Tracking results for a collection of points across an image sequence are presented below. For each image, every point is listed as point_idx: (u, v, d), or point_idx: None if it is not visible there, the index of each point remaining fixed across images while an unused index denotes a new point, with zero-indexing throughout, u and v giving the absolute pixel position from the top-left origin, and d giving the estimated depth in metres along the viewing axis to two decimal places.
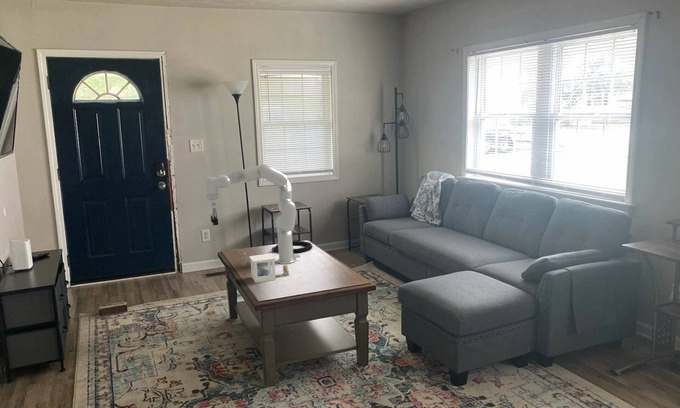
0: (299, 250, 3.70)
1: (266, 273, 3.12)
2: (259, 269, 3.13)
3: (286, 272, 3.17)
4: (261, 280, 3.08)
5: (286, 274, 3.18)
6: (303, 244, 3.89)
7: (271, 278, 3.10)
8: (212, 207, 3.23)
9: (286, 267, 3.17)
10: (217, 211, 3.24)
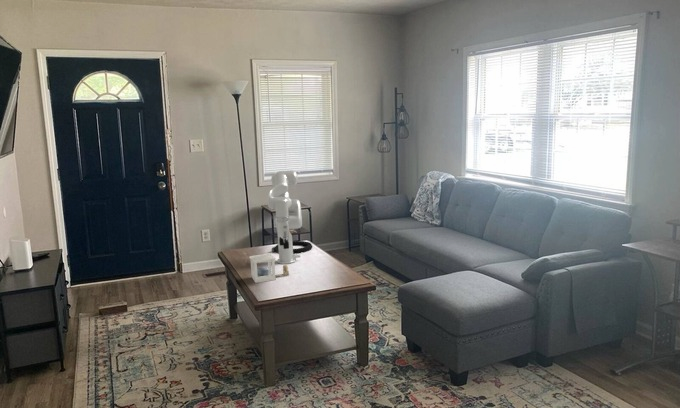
0: (299, 250, 3.70)
1: (266, 273, 3.12)
2: (259, 269, 3.13)
3: (286, 272, 3.17)
4: (261, 280, 3.08)
5: (286, 274, 3.18)
6: (303, 244, 3.89)
7: (271, 278, 3.10)
8: (283, 230, 3.09)
9: (286, 267, 3.17)
10: (288, 234, 3.11)
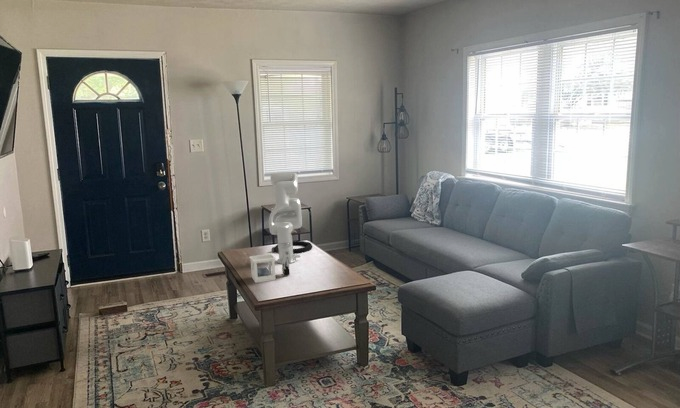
0: (299, 250, 3.70)
1: (266, 273, 3.12)
2: (259, 269, 3.13)
3: None
4: (261, 280, 3.08)
5: None
6: (303, 244, 3.89)
7: (271, 278, 3.10)
8: (285, 256, 3.12)
9: None
10: (290, 260, 3.13)
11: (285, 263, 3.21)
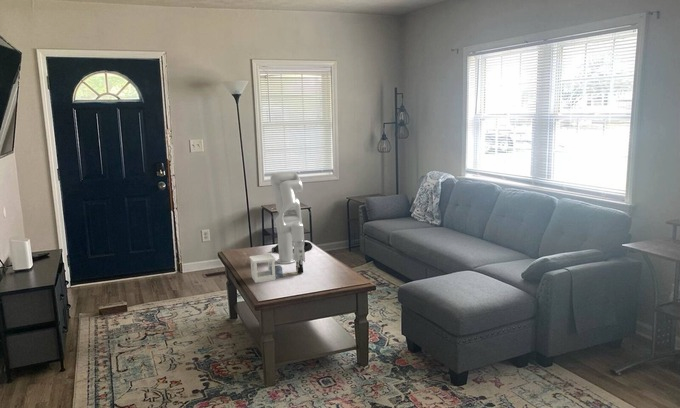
0: None
1: (280, 271, 3.15)
2: None
3: None
4: (261, 280, 3.08)
5: None
6: None
7: (271, 278, 3.10)
8: (299, 254, 3.15)
9: None
10: (303, 258, 3.16)
11: (299, 261, 3.24)
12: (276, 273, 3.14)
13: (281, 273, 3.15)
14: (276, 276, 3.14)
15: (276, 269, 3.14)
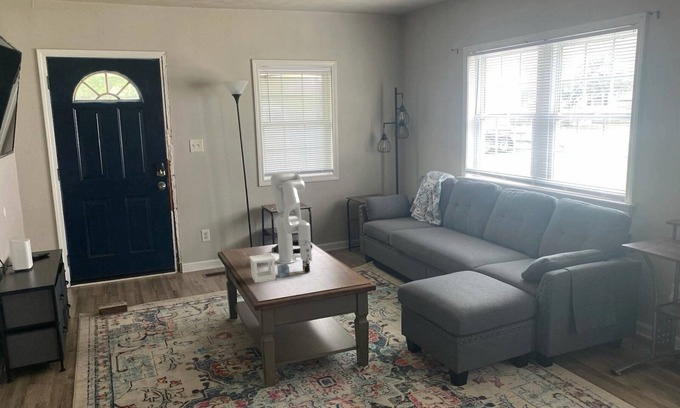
0: (299, 250, 3.70)
1: (287, 270, 3.16)
2: (280, 266, 3.17)
3: None
4: (261, 280, 3.08)
5: None
6: None
7: (271, 278, 3.10)
8: (305, 253, 3.17)
9: None
10: (310, 257, 3.18)
11: (305, 260, 3.26)
12: (283, 272, 3.15)
13: (288, 272, 3.16)
14: (283, 275, 3.16)
15: (283, 268, 3.15)
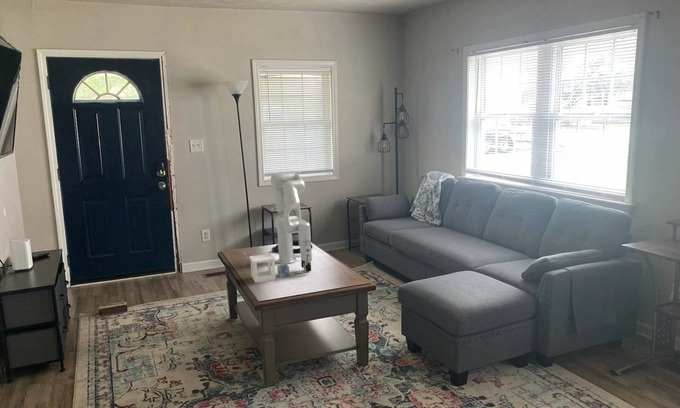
0: (299, 250, 3.70)
1: (287, 270, 3.16)
2: (280, 266, 3.17)
3: None
4: (261, 280, 3.08)
5: None
6: None
7: (271, 278, 3.10)
8: (305, 253, 3.17)
9: None
10: (310, 257, 3.18)
11: None
12: (283, 272, 3.15)
13: (288, 272, 3.16)
14: (283, 275, 3.16)
15: (283, 268, 3.15)
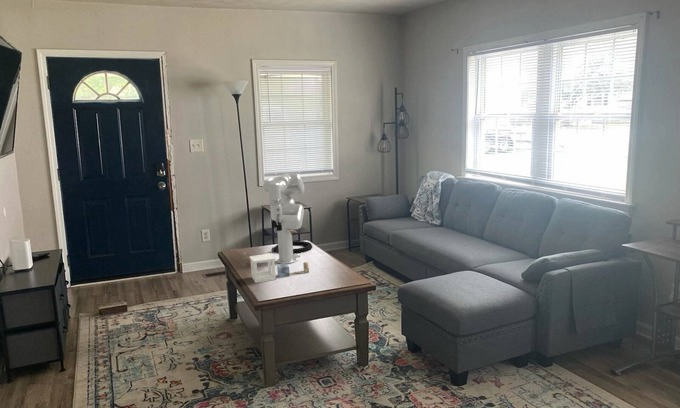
0: (299, 250, 3.70)
1: (287, 270, 3.16)
2: (280, 266, 3.17)
3: (306, 269, 3.22)
4: (261, 280, 3.08)
5: (306, 271, 3.22)
6: (303, 244, 3.89)
7: (271, 278, 3.10)
8: (276, 213, 3.19)
9: (306, 264, 3.21)
10: (281, 217, 3.21)
11: None
12: (283, 272, 3.15)
13: (288, 272, 3.16)
14: (283, 275, 3.16)
15: (283, 268, 3.15)
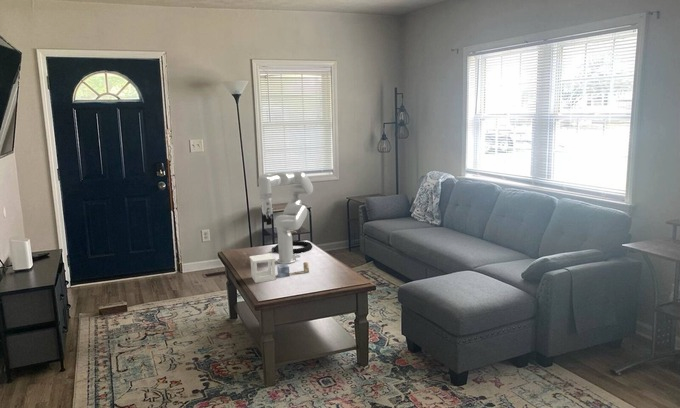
0: (299, 250, 3.70)
1: (287, 270, 3.16)
2: (280, 266, 3.17)
3: (306, 269, 3.22)
4: (261, 280, 3.08)
5: (306, 271, 3.22)
6: (303, 244, 3.89)
7: (271, 278, 3.10)
8: (266, 206, 3.20)
9: (306, 264, 3.21)
10: (271, 210, 3.22)
11: None
12: (283, 272, 3.15)
13: (288, 272, 3.16)
14: (283, 275, 3.16)
15: (283, 268, 3.15)
